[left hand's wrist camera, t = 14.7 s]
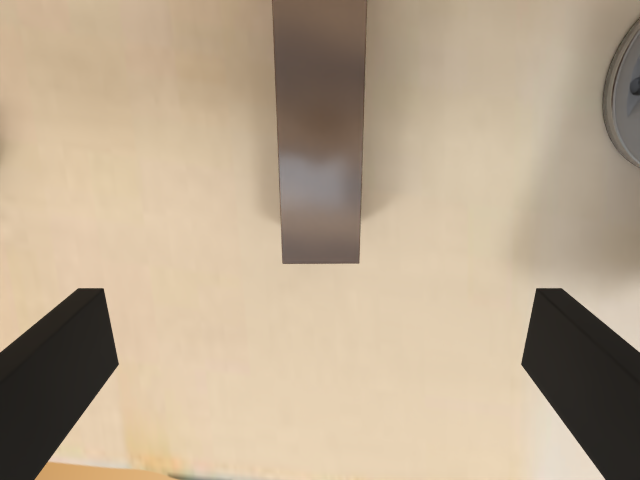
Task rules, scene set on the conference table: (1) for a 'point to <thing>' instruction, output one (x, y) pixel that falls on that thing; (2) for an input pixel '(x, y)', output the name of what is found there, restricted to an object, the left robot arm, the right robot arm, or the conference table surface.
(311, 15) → the post
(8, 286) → the conference table surface
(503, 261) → the conference table surface
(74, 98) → the conference table surface
